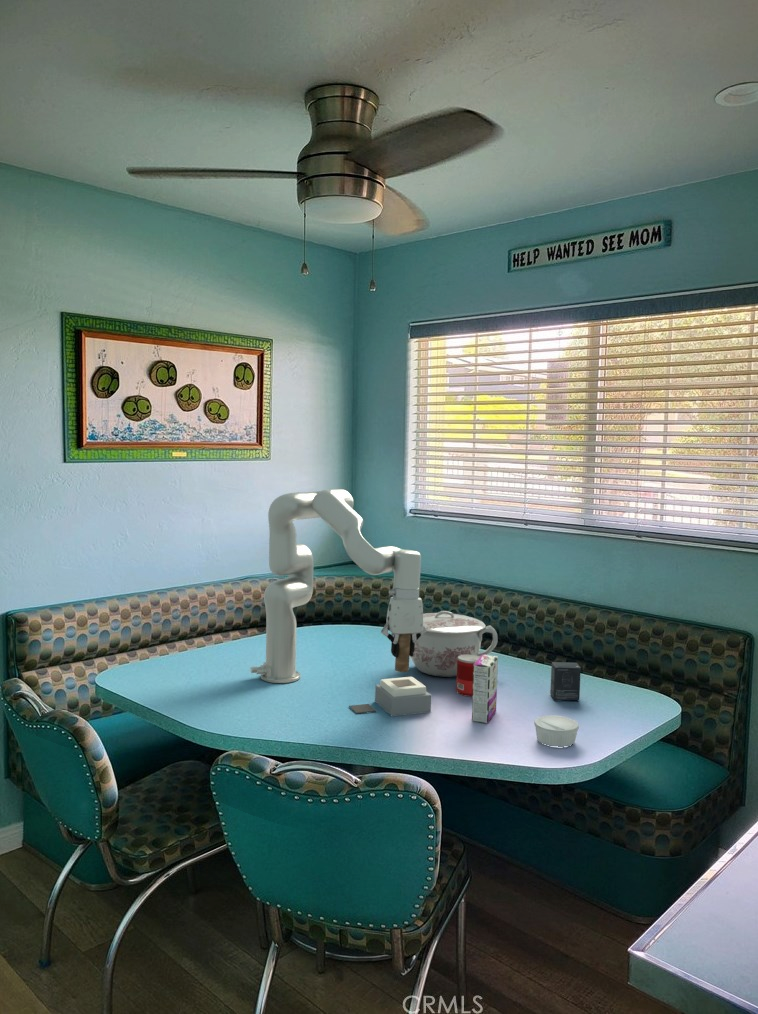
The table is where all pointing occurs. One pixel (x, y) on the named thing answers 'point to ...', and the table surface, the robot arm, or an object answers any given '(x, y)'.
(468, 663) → the canned food
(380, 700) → the grey white square holder
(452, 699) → the table surface
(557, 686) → the box
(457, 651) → the chamber pot
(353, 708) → the coaster
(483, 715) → the candy bar box
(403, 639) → the brown rounded cylinder
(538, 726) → the ramekin
